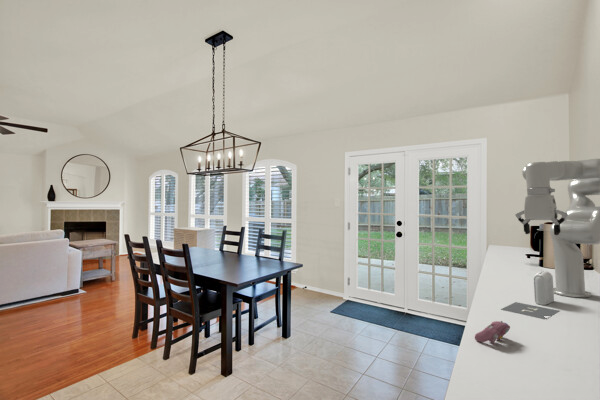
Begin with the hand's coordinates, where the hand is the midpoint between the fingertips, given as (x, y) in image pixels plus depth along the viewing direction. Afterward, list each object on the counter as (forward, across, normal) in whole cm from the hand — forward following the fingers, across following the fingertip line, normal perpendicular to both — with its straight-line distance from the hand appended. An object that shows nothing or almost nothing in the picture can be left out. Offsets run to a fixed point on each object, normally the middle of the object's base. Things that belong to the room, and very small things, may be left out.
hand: (541, 234), depth 124 cm
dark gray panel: (+27, 0, +18) cm, 32 cm away
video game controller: (+26, -3, +55) cm, 61 cm away
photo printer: (+27, 0, +2) cm, 27 cm away
